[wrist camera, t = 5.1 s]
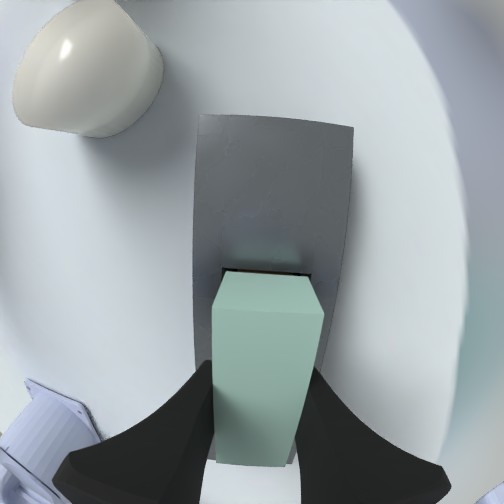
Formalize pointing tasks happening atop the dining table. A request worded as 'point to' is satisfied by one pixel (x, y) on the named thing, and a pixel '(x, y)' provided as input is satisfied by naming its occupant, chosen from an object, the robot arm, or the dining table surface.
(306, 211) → the rail
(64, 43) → the white dome cap
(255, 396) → the green toy bench
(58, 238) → the dining table surface
